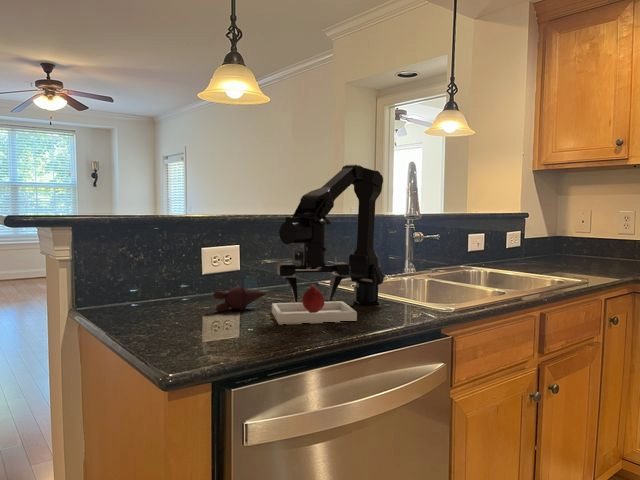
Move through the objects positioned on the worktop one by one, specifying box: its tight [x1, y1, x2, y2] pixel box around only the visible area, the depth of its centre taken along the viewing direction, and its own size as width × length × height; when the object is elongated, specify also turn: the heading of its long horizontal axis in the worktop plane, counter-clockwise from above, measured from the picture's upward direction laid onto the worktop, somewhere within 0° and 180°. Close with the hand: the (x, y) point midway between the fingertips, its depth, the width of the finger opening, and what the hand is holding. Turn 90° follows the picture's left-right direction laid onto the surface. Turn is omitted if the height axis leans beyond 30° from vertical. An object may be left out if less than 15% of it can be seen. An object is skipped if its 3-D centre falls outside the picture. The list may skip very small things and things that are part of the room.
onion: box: [301, 284, 326, 313], centre depth 124 cm, size 6×6×8 cm
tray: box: [271, 300, 358, 326], centre depth 124 cm, size 20×13×2 cm, turn 103°
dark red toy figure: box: [212, 284, 266, 313], centre depth 132 cm, size 7×7×15 cm
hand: (313, 301), depth 124 cm, fingers open, 9 cm apart
